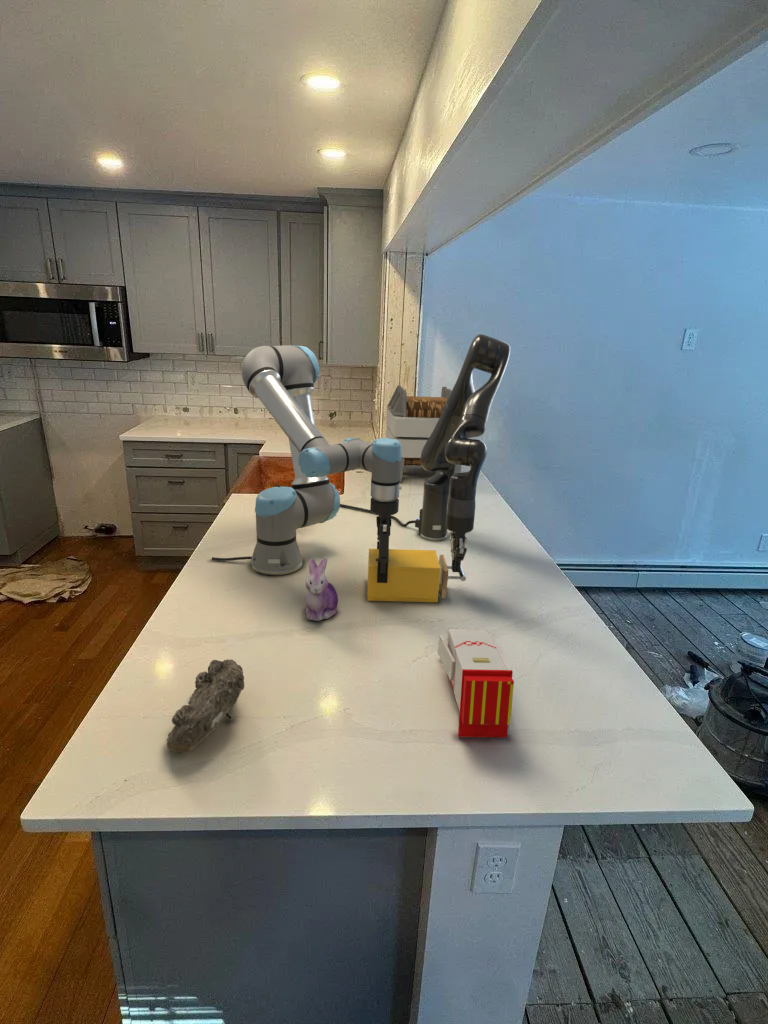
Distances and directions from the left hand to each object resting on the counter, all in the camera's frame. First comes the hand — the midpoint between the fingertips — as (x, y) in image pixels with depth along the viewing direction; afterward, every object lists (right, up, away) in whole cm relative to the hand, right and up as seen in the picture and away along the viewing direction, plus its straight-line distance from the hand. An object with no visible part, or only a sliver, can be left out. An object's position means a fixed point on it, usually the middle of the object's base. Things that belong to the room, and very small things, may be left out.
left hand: (381, 572), depth 157 cm
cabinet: (+6, -6, +2) cm, 8 cm away
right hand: (+21, 0, 0) cm, 21 cm away
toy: (+19, -21, -38) cm, 48 cm away
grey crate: (+18, +35, +118) cm, 124 cm away
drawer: (+11, -5, +2) cm, 12 cm away
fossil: (-32, -22, -49) cm, 63 cm away
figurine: (-15, -9, -11) cm, 21 cm away
